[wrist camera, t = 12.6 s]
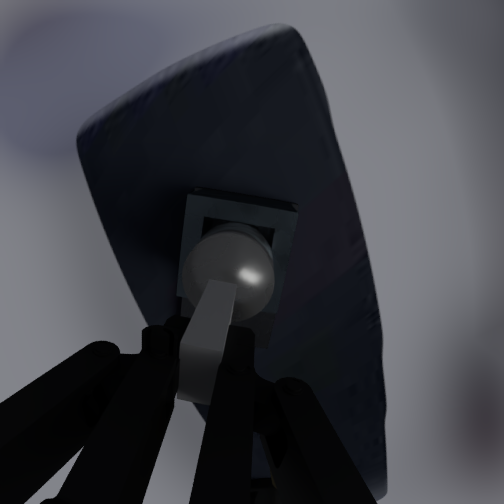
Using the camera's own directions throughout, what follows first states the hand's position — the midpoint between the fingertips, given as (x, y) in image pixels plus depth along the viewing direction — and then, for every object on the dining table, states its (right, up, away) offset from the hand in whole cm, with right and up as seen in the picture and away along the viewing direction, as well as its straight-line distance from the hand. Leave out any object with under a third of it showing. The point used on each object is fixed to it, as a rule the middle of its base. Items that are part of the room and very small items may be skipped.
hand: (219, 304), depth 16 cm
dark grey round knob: (+1, +4, +13) cm, 14 cm away
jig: (0, +1, +15) cm, 15 cm away
